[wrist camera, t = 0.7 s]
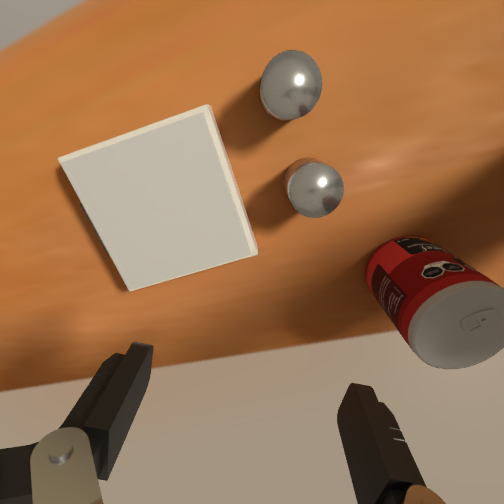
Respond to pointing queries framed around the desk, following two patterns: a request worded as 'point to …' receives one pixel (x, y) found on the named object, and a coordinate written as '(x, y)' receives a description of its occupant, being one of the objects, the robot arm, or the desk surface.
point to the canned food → (437, 302)
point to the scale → (163, 199)
